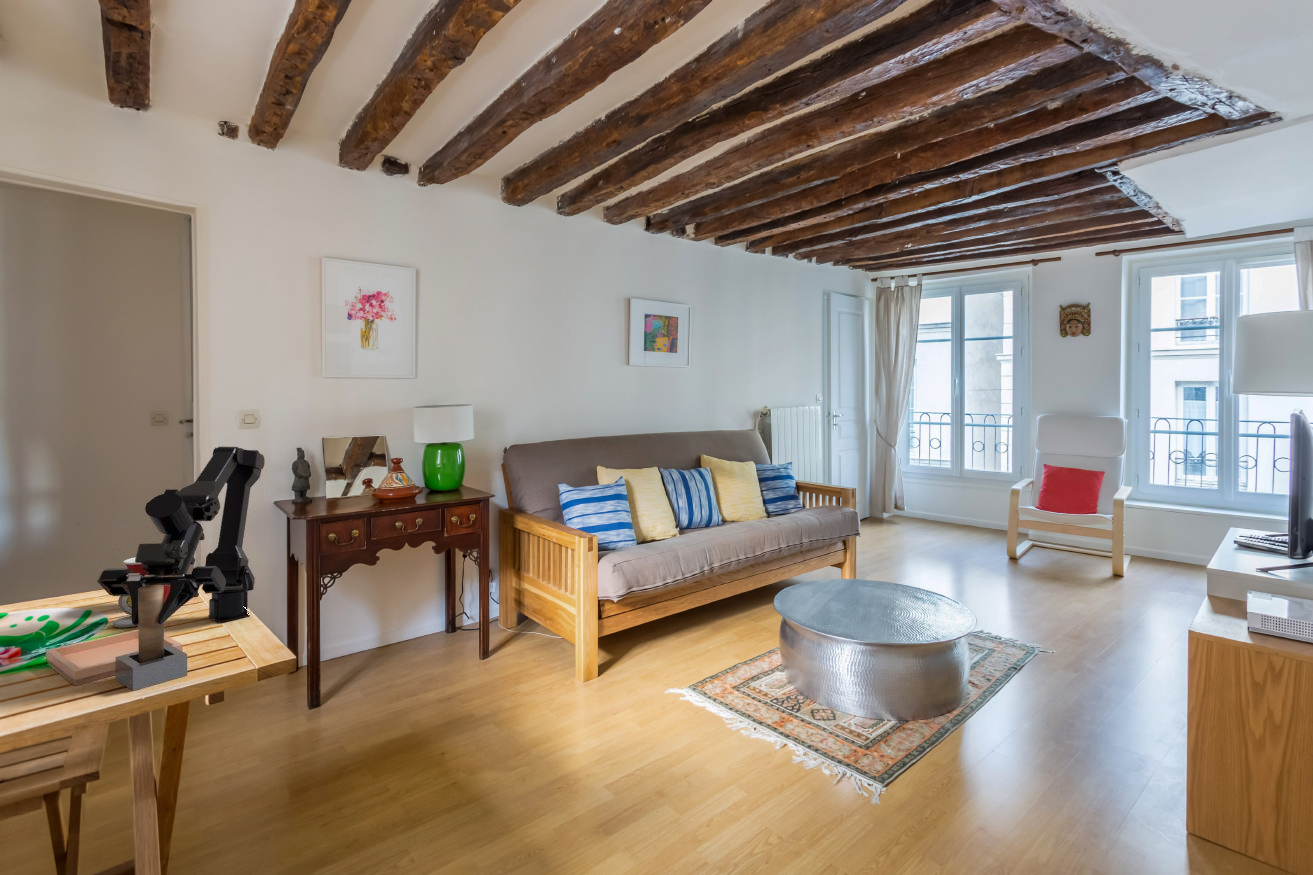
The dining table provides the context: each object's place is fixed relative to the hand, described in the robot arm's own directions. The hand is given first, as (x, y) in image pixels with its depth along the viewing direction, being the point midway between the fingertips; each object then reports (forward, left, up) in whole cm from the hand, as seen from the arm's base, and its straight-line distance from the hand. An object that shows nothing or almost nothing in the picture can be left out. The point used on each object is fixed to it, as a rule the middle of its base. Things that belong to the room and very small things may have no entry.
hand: (146, 623), depth 113 cm
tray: (0, -15, -10) cm, 18 cm away
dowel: (-1, -1, -7) cm, 7 cm away
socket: (-1, -1, -10) cm, 10 cm away
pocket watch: (-10, -37, -11) cm, 40 cm away
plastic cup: (-17, -48, -10) cm, 52 cm away
